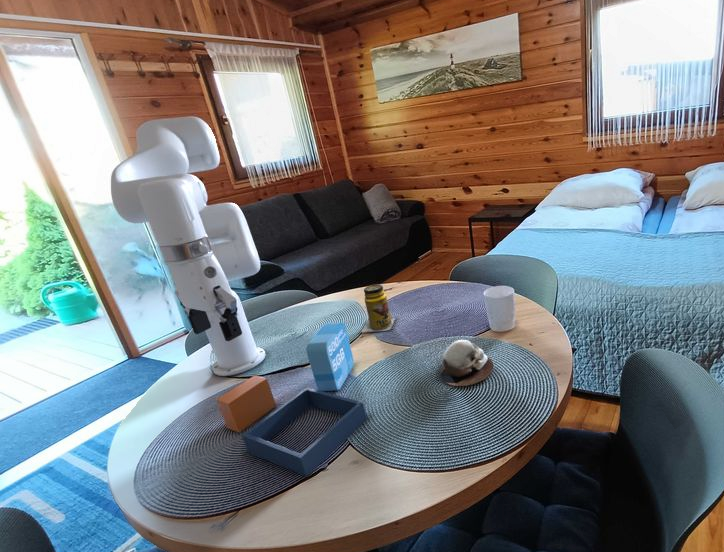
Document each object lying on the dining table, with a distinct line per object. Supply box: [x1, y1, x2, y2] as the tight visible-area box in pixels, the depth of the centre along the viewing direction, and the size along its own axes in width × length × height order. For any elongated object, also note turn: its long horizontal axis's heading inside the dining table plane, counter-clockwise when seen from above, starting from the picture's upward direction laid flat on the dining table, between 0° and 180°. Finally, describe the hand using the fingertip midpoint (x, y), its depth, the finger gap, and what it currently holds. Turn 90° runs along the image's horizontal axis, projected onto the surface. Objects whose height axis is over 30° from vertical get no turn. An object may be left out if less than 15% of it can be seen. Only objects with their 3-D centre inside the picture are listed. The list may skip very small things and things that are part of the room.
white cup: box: [483, 285, 516, 333], centre depth 113 cm, size 8×8×10 cm
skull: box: [439, 339, 494, 387], centre depth 96 cm, size 12×10×10 cm
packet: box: [215, 375, 277, 433], centre depth 89 cm, size 4×9×7 cm, turn 152°
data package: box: [306, 322, 355, 392], centre depth 98 cm, size 12×4×12 cm, turn 176°
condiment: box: [360, 283, 396, 333], centre depth 122 cm, size 7×8×12 cm
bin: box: [241, 387, 368, 477], centre depth 82 cm, size 16×16×4 cm
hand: (218, 334), depth 83 cm, fingers open, 9 cm apart
